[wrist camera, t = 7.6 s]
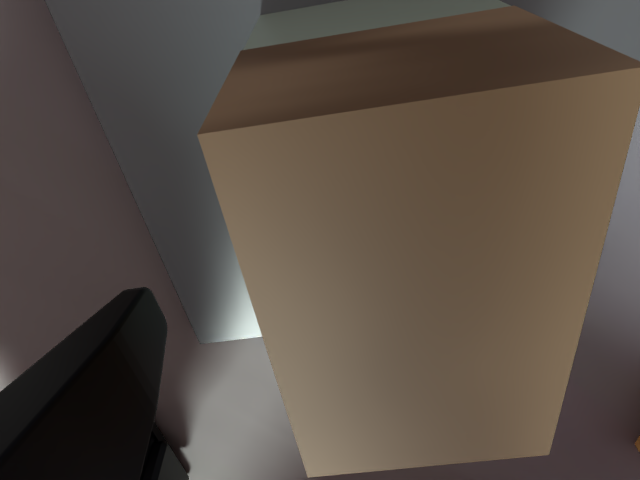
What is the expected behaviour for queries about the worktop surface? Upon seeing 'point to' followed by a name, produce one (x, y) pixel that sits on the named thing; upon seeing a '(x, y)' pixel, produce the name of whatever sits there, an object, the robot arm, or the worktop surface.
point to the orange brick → (638, 444)
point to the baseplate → (201, 91)
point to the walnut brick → (422, 228)
